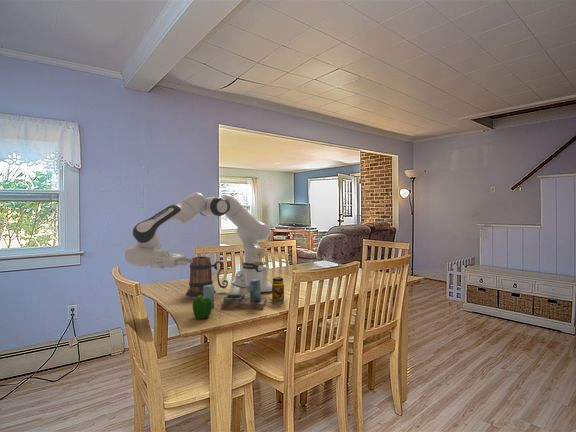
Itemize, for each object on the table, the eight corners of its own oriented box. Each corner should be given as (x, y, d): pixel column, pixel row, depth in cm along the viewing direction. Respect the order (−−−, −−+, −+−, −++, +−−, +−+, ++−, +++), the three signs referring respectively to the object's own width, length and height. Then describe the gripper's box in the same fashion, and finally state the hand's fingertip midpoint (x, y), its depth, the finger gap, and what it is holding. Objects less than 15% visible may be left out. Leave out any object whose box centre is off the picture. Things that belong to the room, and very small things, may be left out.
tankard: (182, 297, 179) (182, 260, 179) (187, 289, 196) (187, 255, 195) (227, 295, 182) (227, 259, 182) (228, 288, 199) (228, 255, 199)
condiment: (280, 304, 165) (280, 280, 165) (265, 301, 169) (265, 278, 169) (287, 300, 171) (287, 277, 171) (273, 298, 175) (273, 275, 175)
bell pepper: (204, 313, 150) (203, 291, 150) (215, 317, 145) (215, 294, 145) (188, 318, 144) (187, 295, 143) (199, 322, 138) (199, 298, 138)
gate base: (221, 308, 158) (221, 282, 158) (226, 302, 168) (226, 277, 168) (263, 309, 156) (263, 282, 156) (266, 303, 166) (266, 278, 166)
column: (201, 307, 160) (201, 286, 160) (209, 304, 164) (209, 284, 164) (207, 308, 157) (207, 287, 157) (216, 306, 161) (216, 285, 161)
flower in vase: (275, 289, 196) (275, 246, 196) (273, 294, 185) (272, 249, 185) (254, 288, 198) (253, 246, 197) (249, 293, 186) (249, 248, 186)
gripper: (152, 254, 148) (183, 257, 149) (168, 250, 169) (195, 253, 169) (151, 268, 148) (181, 272, 148) (167, 263, 169) (194, 266, 169)
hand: (189, 262), depth 159 cm, fingers open, 8 cm apart
